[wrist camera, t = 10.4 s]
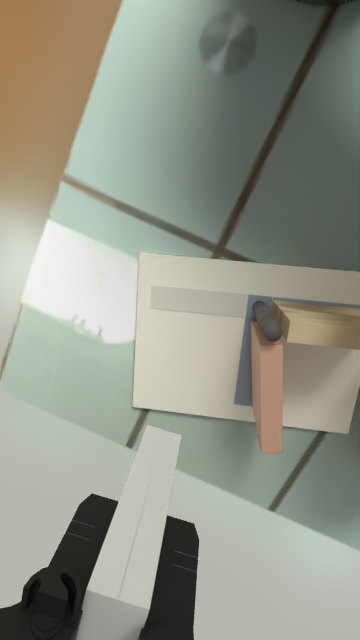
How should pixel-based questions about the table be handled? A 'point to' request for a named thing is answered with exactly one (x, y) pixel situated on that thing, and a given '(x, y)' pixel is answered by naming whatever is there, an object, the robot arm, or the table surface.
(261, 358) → the hinged fence panel
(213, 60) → the table surface
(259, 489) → the table surface
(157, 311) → the card
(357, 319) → the fixed fence panel
